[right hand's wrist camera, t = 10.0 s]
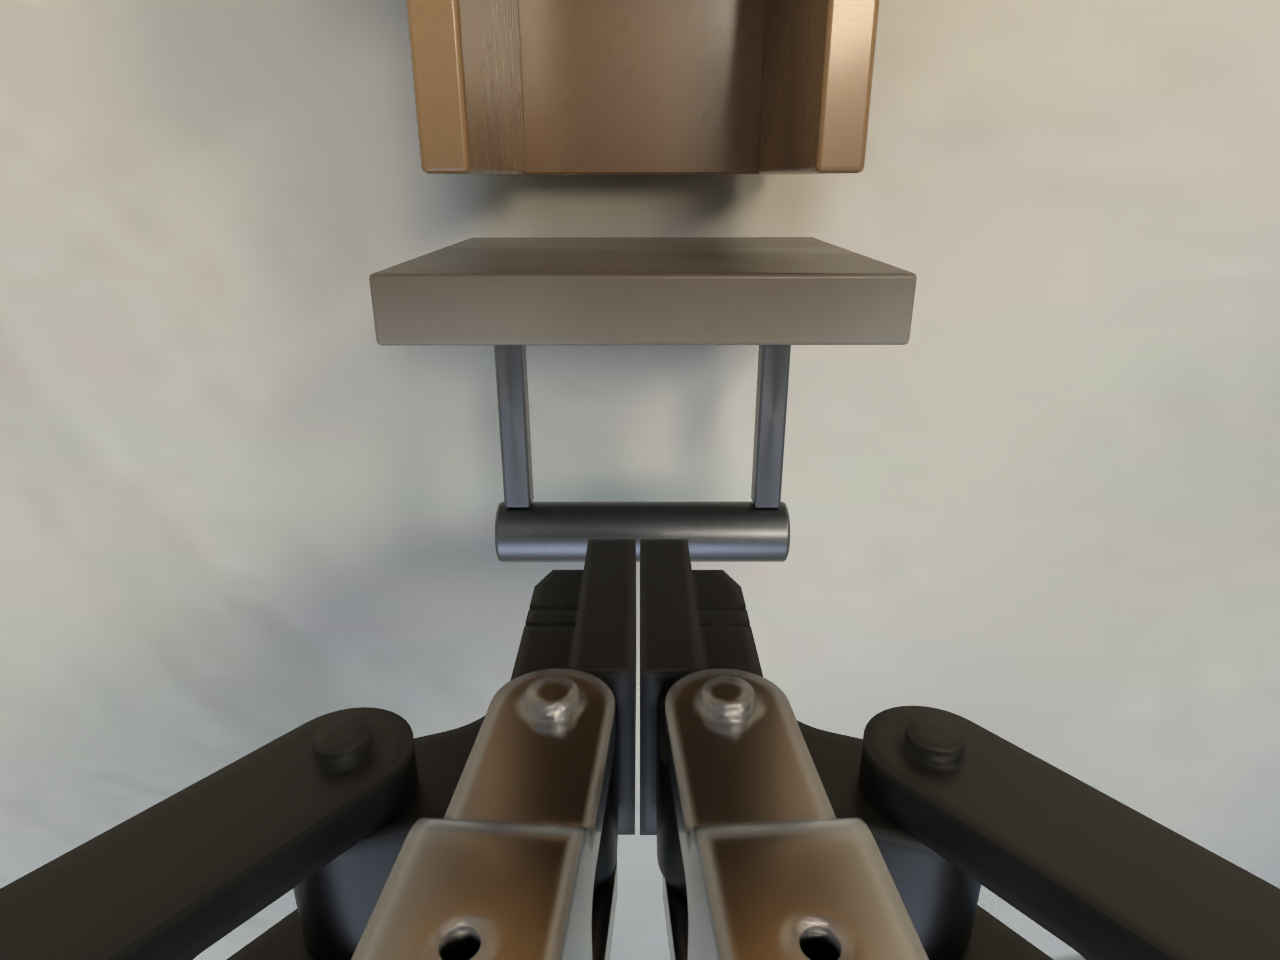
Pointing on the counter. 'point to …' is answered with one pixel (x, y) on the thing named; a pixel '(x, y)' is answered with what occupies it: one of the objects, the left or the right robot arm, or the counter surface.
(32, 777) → the counter surface
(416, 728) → the counter surface
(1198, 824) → the counter surface
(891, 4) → the counter surface
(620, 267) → the drawer
